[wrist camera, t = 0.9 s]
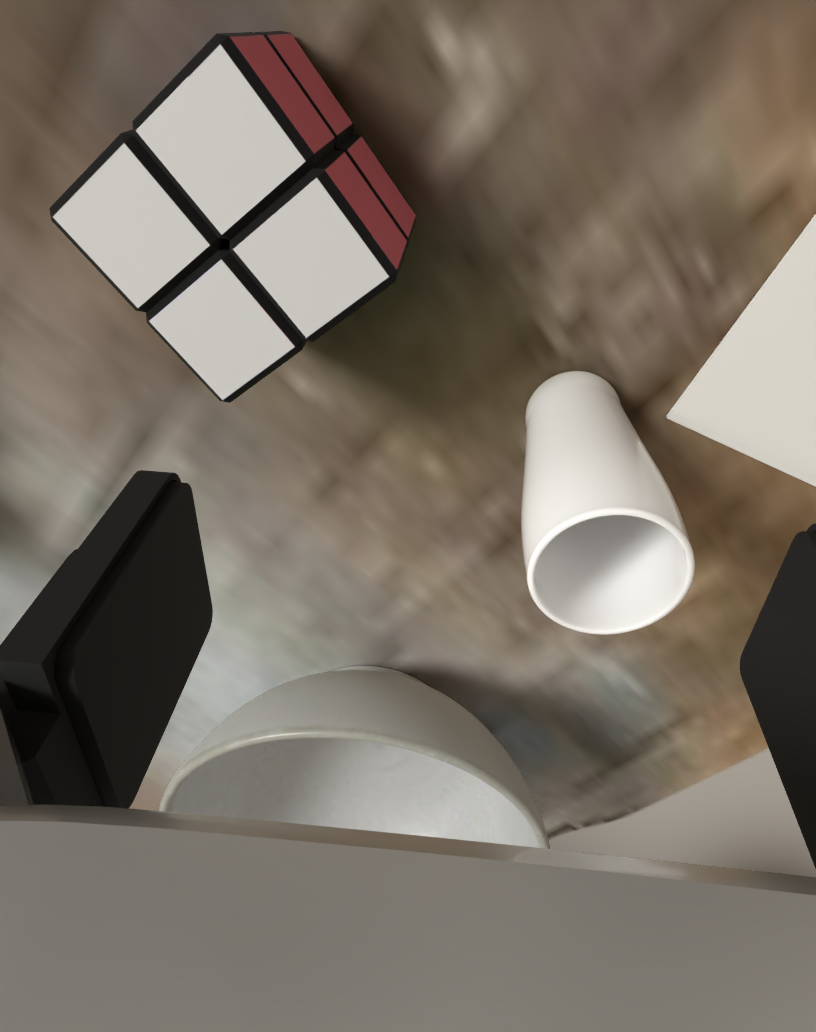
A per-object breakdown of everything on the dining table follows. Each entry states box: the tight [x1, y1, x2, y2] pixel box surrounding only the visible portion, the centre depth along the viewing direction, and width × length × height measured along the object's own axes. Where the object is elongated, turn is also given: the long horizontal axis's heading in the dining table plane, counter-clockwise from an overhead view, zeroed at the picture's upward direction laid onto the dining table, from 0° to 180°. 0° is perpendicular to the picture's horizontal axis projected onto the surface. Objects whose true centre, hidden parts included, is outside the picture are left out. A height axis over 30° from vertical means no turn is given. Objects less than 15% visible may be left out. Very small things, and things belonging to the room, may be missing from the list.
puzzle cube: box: [50, 31, 416, 402], centre depth 31 cm, size 10×10×10 cm
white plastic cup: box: [521, 371, 695, 634], centre depth 34 cm, size 7×7×15 cm
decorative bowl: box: [159, 666, 550, 849], centre depth 53 cm, size 27×27×12 cm
